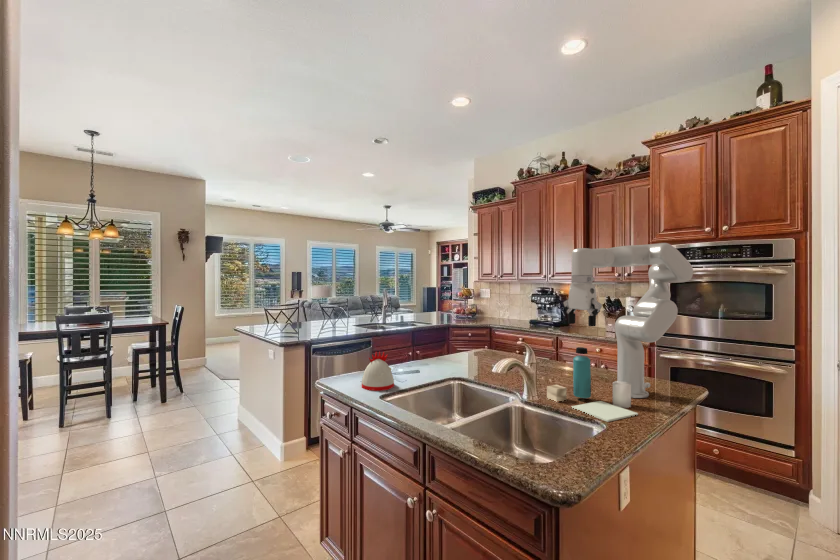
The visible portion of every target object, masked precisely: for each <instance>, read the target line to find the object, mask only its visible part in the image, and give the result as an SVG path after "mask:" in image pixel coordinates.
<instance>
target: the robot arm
mask: <svg viewBox="0 0 840 560" xmlns="http://www.w3.org/2000/svg"><path fill="white" fill-rule="evenodd" d="M650 265H651V266H650ZM639 266H640V267H641V266H650V267H649V268H648V273H647V274H648V280H649V288H648V290H647V291H646V292H645V294H643V295H642V297H641V298H640V299H639V300H638V301H637V303H635V305H634V306H633V309H632V313H633V315H622V316H620V317H618V318H617V319H616V320H615V323H614V331H615V332H614V333H615V338H616V341H617V342H616V344H617V354H616V355H617V357H616V358H617V359H616V360H617V366H616V367H617V379H616V381H621V382H627V383H630V384H631V399H632V398H633V399H646V398H648V397H649V395H650V394H649V392H648V391H647V390H646V389H647V388H650V387H651V386H652V385H651V383H650V382H645V349H644V346H643V343H642V342H645V343H654V342H655V343H656V342H657V341H659V340H660V339H661V338H662V337H663V336H664V334H665V333H666V332H667V331H668V330H669V328H671V326H672V325H673V324H674V322H675V321H676V319H677V318H678V311H679V308H678V307H677V304H676V303H675V302H674V301H672V300H671V297H672V296H671V291H670V288H669V286H668V283H686V282H689V281H690V280H691V279H692V278H693V275H694V268H693V266H692V265H691V263H690V261H688V260H687V258H686V257H685V256H684V255H683V254H682V253H681V252H680V250H678V249H677V248H676V247H674V246H673V245H672V244H670V243H667V242H661V243H660V242H659V243H652V244H651V243H649V244H648V243H647V244H636V245H635V244H634V245H633V244H632V245H631V244H630V245H621V246H615V247H610V248H606V247H603V248H602V247H601V248H599V247H598V248H590V247H588V248H587V247H586V248H585V247H580V248H575V249H574V248H573V250H572V251H571V280H570V281H571V283H570V286H569V290H568V299H566V300H565V301H563V306H564V309H565V311H566V314H567V324H569V325H573V324H576V313H575V312H576V310H578V311H587V313H588V314H589V315H588V318H587V319H588V323H587V325H588V327H590V328H591V327H596V326H597V316H598V315H599V313H600V312H601V309H602V307H603V304H602V303H600V302H599V301H598V300H597V289H596V286H595V284H593V282H594V281H595V277H593V271H594V269H598V268H599V269H601V268H602V269H603V268H608V267H609V268H625V267H626V268H627V267H628V268H629V267H639Z"/></svg>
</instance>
